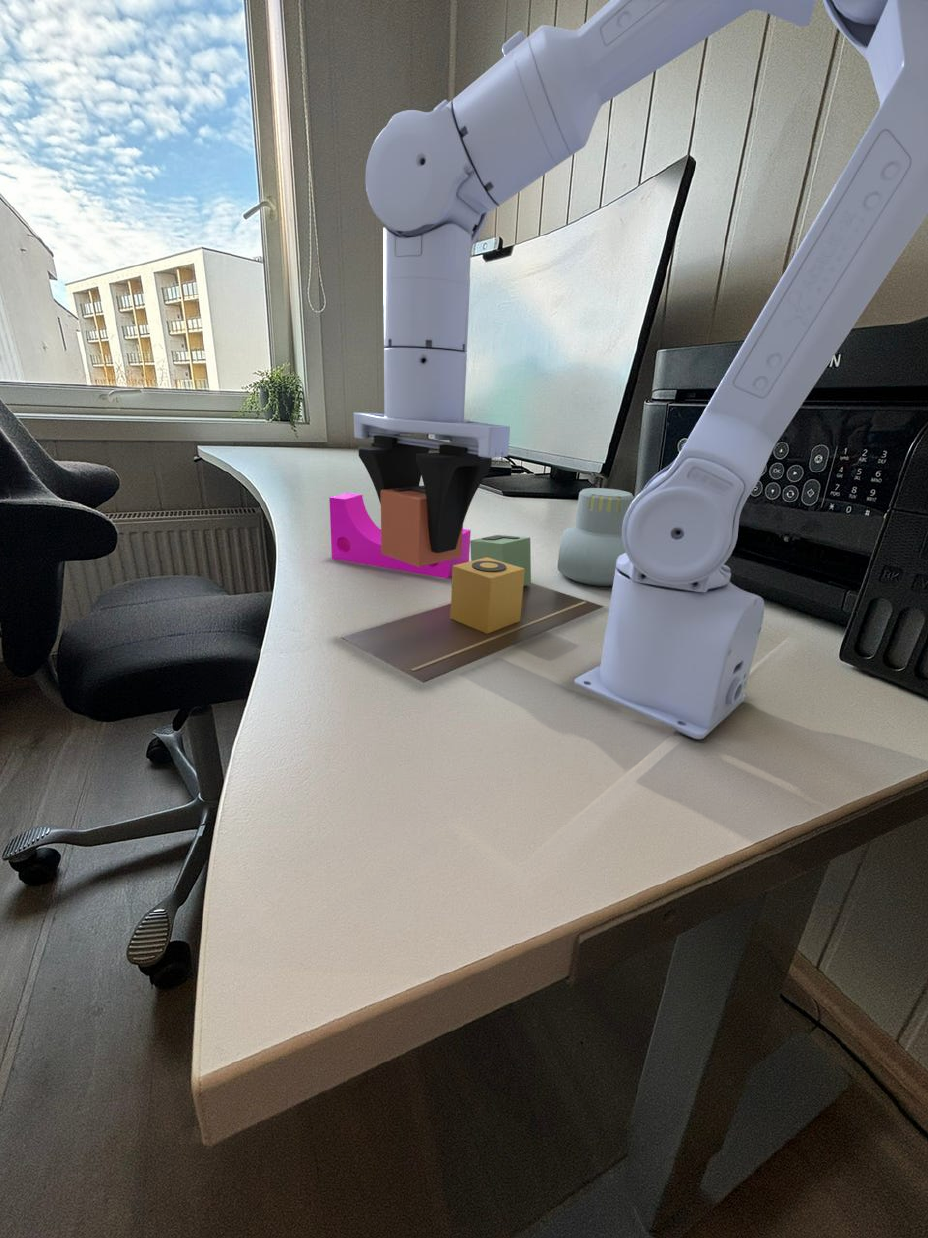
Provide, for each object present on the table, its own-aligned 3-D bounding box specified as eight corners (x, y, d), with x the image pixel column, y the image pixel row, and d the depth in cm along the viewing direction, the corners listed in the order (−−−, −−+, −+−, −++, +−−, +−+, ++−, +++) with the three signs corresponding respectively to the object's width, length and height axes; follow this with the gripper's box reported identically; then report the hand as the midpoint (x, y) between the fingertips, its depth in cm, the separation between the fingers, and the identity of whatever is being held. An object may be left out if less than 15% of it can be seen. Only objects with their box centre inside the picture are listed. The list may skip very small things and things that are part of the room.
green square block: (531, 583, 61) (530, 536, 59) (504, 592, 58) (502, 542, 56) (499, 578, 64) (498, 533, 62) (472, 586, 61) (469, 539, 59)
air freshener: (563, 562, 71) (572, 482, 67) (630, 570, 69) (644, 488, 66) (553, 589, 61) (564, 496, 58) (632, 599, 59) (648, 504, 56)
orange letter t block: (461, 557, 45) (464, 491, 43) (418, 567, 42) (420, 497, 40) (423, 545, 47) (424, 483, 45) (380, 554, 44) (380, 488, 42)
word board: (603, 609, 56) (603, 605, 56) (423, 686, 40) (423, 681, 40) (524, 584, 62) (524, 580, 62) (341, 641, 46) (341, 636, 46)
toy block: (468, 567, 67) (472, 504, 65) (447, 581, 62) (450, 513, 59) (360, 549, 72) (358, 489, 70) (331, 561, 67) (329, 497, 64)
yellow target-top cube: (520, 621, 51) (525, 566, 49) (487, 634, 48) (491, 576, 46) (483, 607, 54) (487, 555, 52) (450, 618, 51) (452, 563, 49)
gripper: (545, 355, 37) (526, 555, 42) (402, 356, 46) (401, 520, 51) (471, 345, 32) (460, 572, 37) (328, 348, 41) (335, 530, 47)
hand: (421, 543), depth 44 cm, fingers closed on orange letter t block, 4 cm apart
